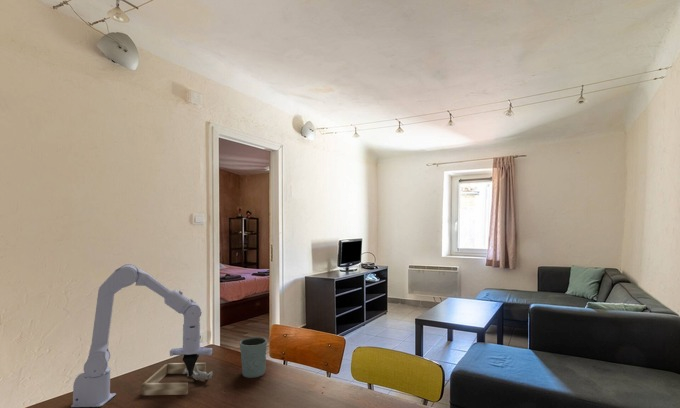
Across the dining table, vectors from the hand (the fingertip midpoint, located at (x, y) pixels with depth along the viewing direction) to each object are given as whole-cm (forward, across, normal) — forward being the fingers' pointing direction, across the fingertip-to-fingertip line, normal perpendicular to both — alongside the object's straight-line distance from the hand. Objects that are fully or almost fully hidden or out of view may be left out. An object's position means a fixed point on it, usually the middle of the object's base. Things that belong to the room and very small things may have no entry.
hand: (190, 375), depth 129 cm
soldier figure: (+3, -2, -2) cm, 4 cm away
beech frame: (+2, +5, 0) cm, 5 cm away
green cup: (+3, -21, -7) cm, 22 cm away
